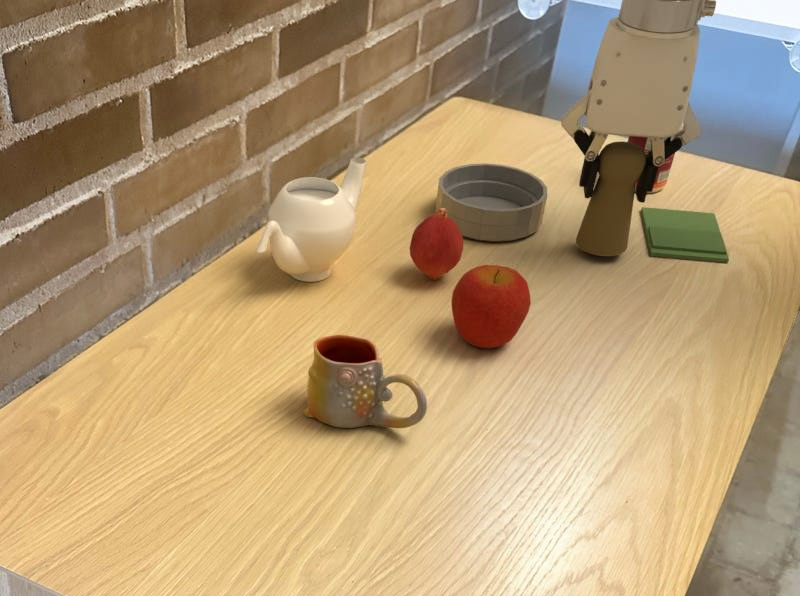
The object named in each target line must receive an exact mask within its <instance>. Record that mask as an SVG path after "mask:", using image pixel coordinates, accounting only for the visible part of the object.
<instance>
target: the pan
mask: <svg viewBox="0 0 800 596" xmlns="http://www.w3.org/2000/svg"><path fill="white" fill-rule="evenodd" d="M547 198H548V187H547V186H546V184H545V182H543V180H542V179H541V178H539V177H537V176H536V175H535V174H532V172H528V171H526V170H523V169H522V168H518V167H514V166H511V165H505V164H498V163H485V162H484V163H483V162H481V163H467V164H463V165H459V166H455V167H452V168H451V169H448V170H446V171H444V173H443V174H441V176H439V178H438V185H437V193H436V203H435V212H437V211H439V209H440V208H445V209H446V213H447V216H448V217H449V218H450V219H452V220H453V221H454V222H455V223H456V224H457V226H458V228H459V230H460V232H461V234H462V237H465V238H467V239H472V240H476V241H480V242H481V241H482V242H491V243H493V242H495V243H496V242H497V243H498V242H511V241H515V240H520V239H522V238H527V237H528V236H530V235H533V234H534V233H536V232H537V231H538V230H539V228H540V227H541V225H542V224H543V218H544V213H545V209H546V204H547V201H548V199H547ZM435 212H434V213H435Z"/></svg>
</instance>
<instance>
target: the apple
mask: <svg viewBox="0 0 800 596" xmlns="http://www.w3.org/2000/svg"><path fill="white" fill-rule="evenodd" d="M450 303H451V313H452V318H453V322H454V326H455V328H456V331H457V334H458V335H459V336H460V337H461V338H462V339H463V340H465V341H466V342H467V343H469V344H470V345H472V346H474V347H475V348H480V349H493V348H498V347H502V346H504V345H506V344H507V343H509V342H511V341H512V340H513V338H514V337H515V336H516V335H517V333H518V332H519V330H520V328H521V327H522V325H523V323H524V322H525V320H526V317H527V316H528V314H529V312H530V308H531V294H530V289H529V283H528V281H527V280H526V279H525V278H524V277H523V275H522V274H520V272H518V271H517V270H516V269H513V268H510V267H508V266H502V265H497V264H483V265H479V266H475V267H474V268H471V269H469V270H468V271H467V272H465V273H464V274H463V275H462V276H461V278H460V279H459V280H458V282H457V283H456V285H455V287H454V289H453V291H452V296H451V302H450Z"/></svg>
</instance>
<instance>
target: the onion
mask: <svg viewBox="0 0 800 596" xmlns="http://www.w3.org/2000/svg"><path fill="white" fill-rule="evenodd" d="M463 237H464V236H462V234H461V232H460V230H459V228H458V226H457V224H456V223H455V222H454V221H453V220H452V219H450V218H449V217H448V216H447V213H446V209H445V208H440V209H439V211H437V212H434V213H433V214H430V215H429V216H427V217H426V218H425V219H423V220H422V221H421V222H420V223H419V224H418V225H416V227H415V229H414V231H413V233H412V235H411V240H410V243H409V255H410V258H411V260H412V262H413V264H414V265H415V266H416V268H417V269H418V270H419V271H420V272H421V273H422V274H424V275H425V276H427V278H428V279H430V280H434V281H435V280H438V279H439V278H441V277H443V276H444V275H446V274H448V273H449V272H451V270H453V269H454V268H455V267H456V266H457V265H458V263H459V262H460V261H461V258H462V255H463V252H464V238H463Z"/></svg>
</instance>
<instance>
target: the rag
mask: <svg viewBox="0 0 800 596" xmlns="http://www.w3.org/2000/svg"><path fill="white" fill-rule="evenodd" d="M640 213H641V218H642V222H643V223H642V224H643V229H644V232H645V237H646V242H647V247H648V251H649V256H650V257H655V258H656V257H657V258H669V259H681V260H688V261H689V260H690V261H691V260H692V261H701V262H703V261H704V262H715V263H725V264H728V263H729V260H730V258H729V255H728V251H727V246H726V244H725V241H724V238H723V234H722V232H721V230H720V226H719V224H718V223H719V222H718V220H717V217H716V214H715V213H714V212H706V211H705V212H704V211H694V210H693V211H691V210H682V209H681V210H680V209H668V208H658V207H657V208H656V207H645V206H641V208H640Z"/></svg>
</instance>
